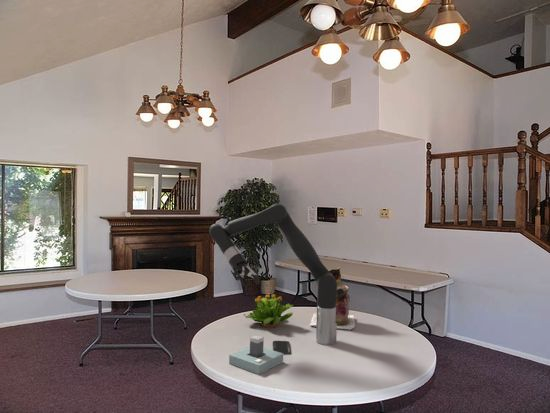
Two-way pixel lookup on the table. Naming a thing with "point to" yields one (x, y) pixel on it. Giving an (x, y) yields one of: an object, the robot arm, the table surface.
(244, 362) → the socket
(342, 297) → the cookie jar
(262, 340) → the plug
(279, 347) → the phone
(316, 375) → the table surface
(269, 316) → the green flowering plant
